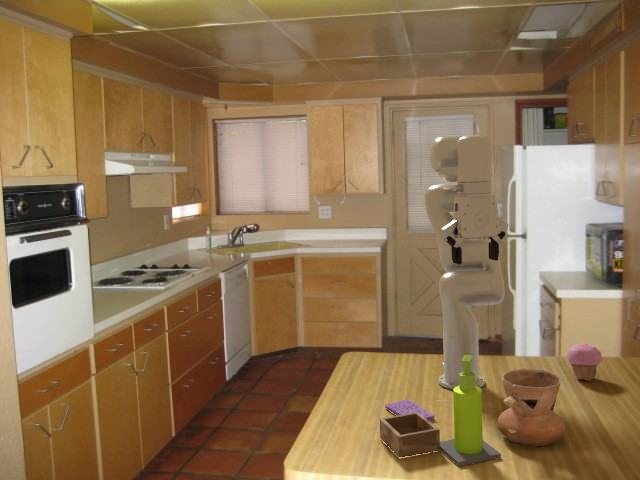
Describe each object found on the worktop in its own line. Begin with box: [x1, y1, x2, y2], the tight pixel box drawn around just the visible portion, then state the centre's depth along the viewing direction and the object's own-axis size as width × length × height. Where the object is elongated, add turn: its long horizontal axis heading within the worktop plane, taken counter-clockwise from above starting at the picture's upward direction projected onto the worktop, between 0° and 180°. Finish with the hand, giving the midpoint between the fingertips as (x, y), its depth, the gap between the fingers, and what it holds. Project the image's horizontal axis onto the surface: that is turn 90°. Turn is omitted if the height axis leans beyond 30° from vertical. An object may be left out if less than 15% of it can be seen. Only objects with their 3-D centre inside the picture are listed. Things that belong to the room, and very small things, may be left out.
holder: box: [379, 412, 441, 458], centre depth 146 cm, size 11×10×5 cm
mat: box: [440, 438, 502, 467], centre depth 142 cm, size 10×10×1 cm
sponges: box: [384, 398, 436, 422], centre depth 164 cm, size 7×13×2 cm, turn 24°
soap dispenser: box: [452, 355, 484, 454], centre depth 141 cm, size 6×7×20 cm
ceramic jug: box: [497, 368, 567, 447], centre depth 147 cm, size 18×14×14 cm
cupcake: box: [566, 343, 603, 382], centre depth 182 cm, size 9×9×10 cm
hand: (475, 261), depth 155 cm, fingers open, 9 cm apart
